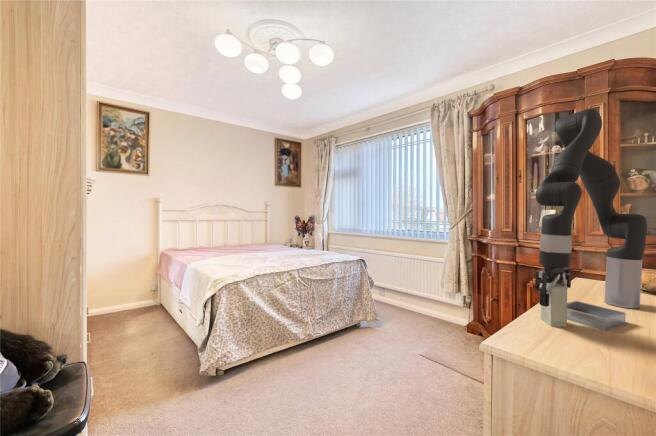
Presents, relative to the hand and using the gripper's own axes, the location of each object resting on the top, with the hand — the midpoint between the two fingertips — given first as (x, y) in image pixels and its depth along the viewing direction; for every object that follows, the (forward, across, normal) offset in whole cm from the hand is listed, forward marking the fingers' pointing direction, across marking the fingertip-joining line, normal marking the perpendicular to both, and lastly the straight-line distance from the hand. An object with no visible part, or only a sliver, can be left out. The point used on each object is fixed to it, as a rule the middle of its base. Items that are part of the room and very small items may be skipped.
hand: (552, 304), depth 88 cm
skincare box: (+7, 0, 0) cm, 7 cm away
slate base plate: (+6, -14, +3) cm, 16 cm away
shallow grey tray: (+5, -14, +3) cm, 16 cm away
